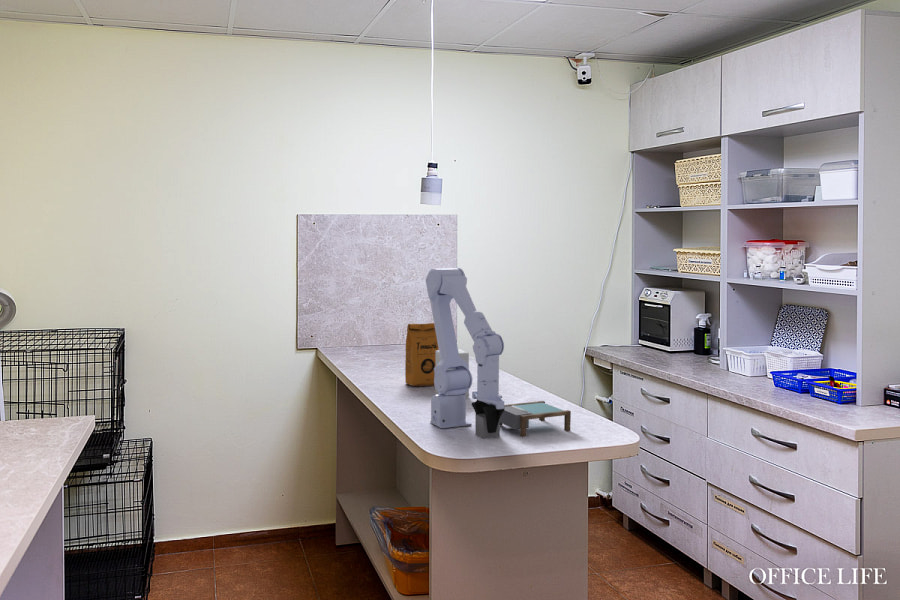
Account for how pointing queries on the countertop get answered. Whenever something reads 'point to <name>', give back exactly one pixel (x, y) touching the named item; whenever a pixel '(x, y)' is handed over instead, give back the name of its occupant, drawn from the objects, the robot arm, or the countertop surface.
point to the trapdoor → (523, 413)
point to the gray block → (484, 427)
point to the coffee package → (420, 354)
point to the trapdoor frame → (541, 417)
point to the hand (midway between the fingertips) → (487, 430)
